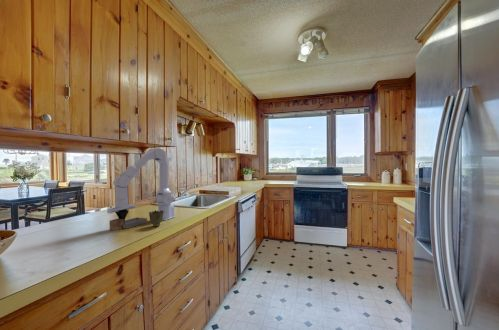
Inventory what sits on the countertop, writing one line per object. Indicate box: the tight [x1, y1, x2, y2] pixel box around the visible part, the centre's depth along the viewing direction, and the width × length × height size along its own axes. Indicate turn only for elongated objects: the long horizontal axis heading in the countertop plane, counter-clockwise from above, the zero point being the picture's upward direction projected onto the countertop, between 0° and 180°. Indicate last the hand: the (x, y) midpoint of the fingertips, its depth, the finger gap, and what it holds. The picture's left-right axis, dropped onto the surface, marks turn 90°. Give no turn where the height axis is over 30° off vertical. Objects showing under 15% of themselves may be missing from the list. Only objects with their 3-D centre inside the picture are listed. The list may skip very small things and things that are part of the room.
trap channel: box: [124, 216, 148, 230], centre depth 123 cm, size 14×8×2 cm, turn 157°
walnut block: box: [109, 218, 125, 232], centre depth 114 cm, size 4×4×5 cm
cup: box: [148, 209, 164, 228], centre depth 120 cm, size 8×7×8 cm
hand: (122, 224), depth 117 cm, fingers closed, pressing on walnut block
